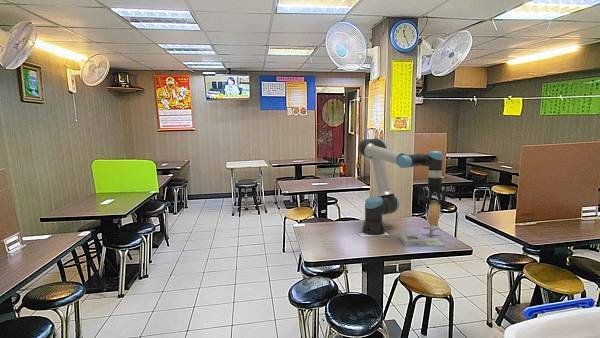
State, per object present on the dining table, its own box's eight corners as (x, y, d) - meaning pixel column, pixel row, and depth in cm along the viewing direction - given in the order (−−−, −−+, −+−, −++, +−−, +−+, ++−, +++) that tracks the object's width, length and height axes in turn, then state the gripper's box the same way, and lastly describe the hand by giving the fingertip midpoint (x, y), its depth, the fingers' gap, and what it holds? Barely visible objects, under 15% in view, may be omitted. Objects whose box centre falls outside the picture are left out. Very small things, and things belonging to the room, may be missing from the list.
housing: (399, 239, 200) (399, 234, 199) (418, 238, 199) (418, 234, 199) (405, 246, 188) (405, 241, 187) (425, 245, 187) (425, 241, 187)
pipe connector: (440, 238, 200) (441, 223, 199) (424, 237, 202) (424, 222, 201) (437, 233, 210) (438, 218, 208) (421, 232, 212) (422, 217, 210)
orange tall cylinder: (427, 222, 193) (428, 200, 191) (435, 222, 193) (436, 200, 191) (430, 224, 188) (431, 202, 186) (439, 224, 188) (440, 202, 186)
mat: (421, 239, 198) (421, 238, 198) (437, 239, 197) (437, 238, 197) (427, 246, 187) (427, 245, 187) (444, 246, 186) (444, 244, 186)
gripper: (422, 178, 183) (420, 216, 186) (453, 177, 183) (451, 216, 186) (417, 176, 191) (416, 213, 194) (447, 175, 190) (446, 213, 193)
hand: (433, 214), depth 190 cm, fingers closed on orange tall cylinder, 5 cm apart
